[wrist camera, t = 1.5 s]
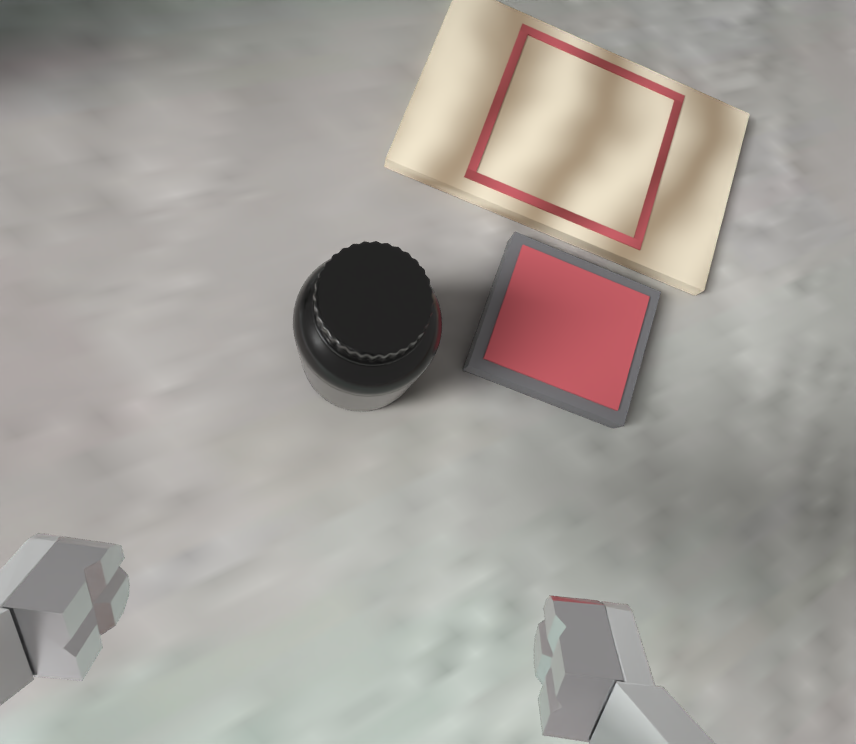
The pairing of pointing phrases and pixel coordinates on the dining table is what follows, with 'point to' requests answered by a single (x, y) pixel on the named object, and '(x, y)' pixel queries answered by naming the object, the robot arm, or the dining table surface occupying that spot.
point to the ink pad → (563, 331)
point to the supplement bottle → (366, 326)
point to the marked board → (572, 142)
